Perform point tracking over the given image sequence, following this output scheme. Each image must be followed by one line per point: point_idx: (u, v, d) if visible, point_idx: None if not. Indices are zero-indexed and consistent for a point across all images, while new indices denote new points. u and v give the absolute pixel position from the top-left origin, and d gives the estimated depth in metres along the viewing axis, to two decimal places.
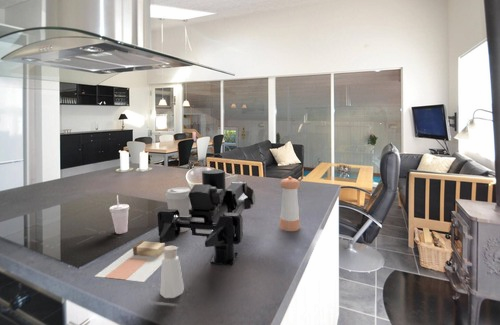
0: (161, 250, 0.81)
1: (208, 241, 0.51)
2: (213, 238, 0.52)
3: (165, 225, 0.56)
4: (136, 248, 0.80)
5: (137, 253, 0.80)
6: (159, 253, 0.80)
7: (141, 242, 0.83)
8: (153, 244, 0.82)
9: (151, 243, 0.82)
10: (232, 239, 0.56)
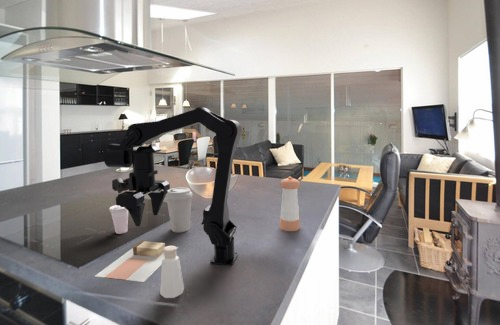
0: (161, 250, 0.81)
1: (136, 224, 0.75)
2: (134, 220, 0.75)
3: None
4: (136, 248, 0.80)
5: (137, 253, 0.80)
6: (159, 253, 0.80)
7: (141, 242, 0.83)
8: (153, 244, 0.82)
9: (151, 243, 0.82)
10: (134, 207, 0.71)
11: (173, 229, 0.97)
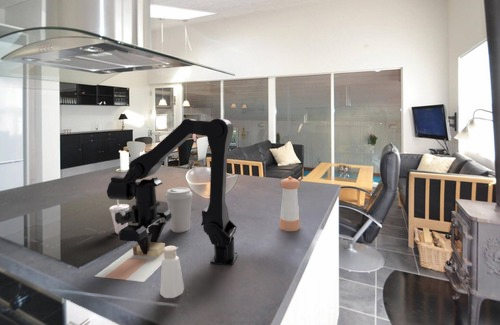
0: (161, 250, 0.81)
1: (143, 253, 0.79)
2: (142, 248, 0.79)
3: None
4: (136, 248, 0.80)
5: (137, 253, 0.80)
6: (159, 253, 0.80)
7: None
8: (153, 244, 0.82)
9: (151, 243, 0.82)
10: (142, 238, 0.75)
11: (173, 229, 0.97)
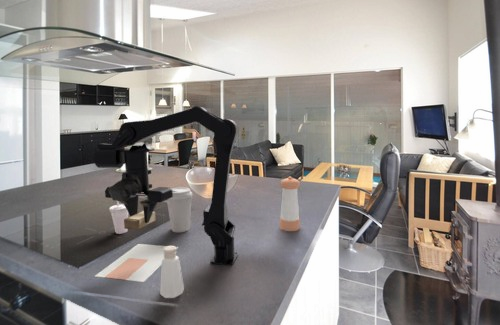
0: None
1: (147, 221, 0.77)
2: (148, 216, 0.76)
3: (126, 208, 0.77)
4: (139, 220, 0.74)
5: (139, 226, 0.75)
6: None
7: (128, 218, 0.75)
8: (141, 214, 0.79)
9: (137, 215, 0.78)
10: None
11: (173, 229, 0.97)
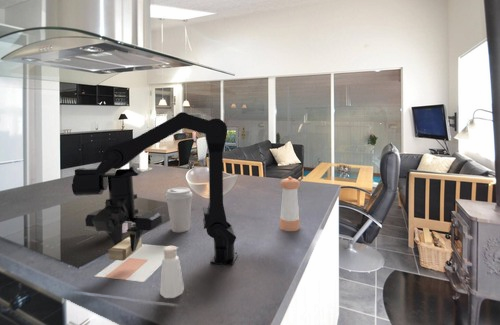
0: None
1: (133, 249, 0.72)
2: (135, 244, 0.71)
3: (110, 236, 0.71)
4: (125, 250, 0.69)
5: (126, 256, 0.70)
6: None
7: (113, 248, 0.69)
8: (127, 241, 0.74)
9: (122, 243, 0.73)
10: None
11: (173, 229, 0.97)
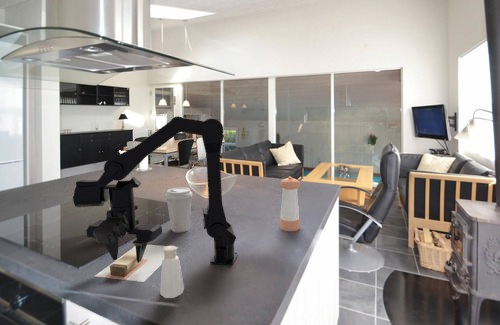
0: None
1: (139, 260, 0.72)
2: (140, 255, 0.72)
3: (106, 246, 0.72)
4: (127, 266, 0.70)
5: (127, 272, 0.70)
6: None
7: (115, 264, 0.70)
8: (128, 256, 0.74)
9: (124, 258, 0.73)
10: None
11: (173, 229, 0.97)
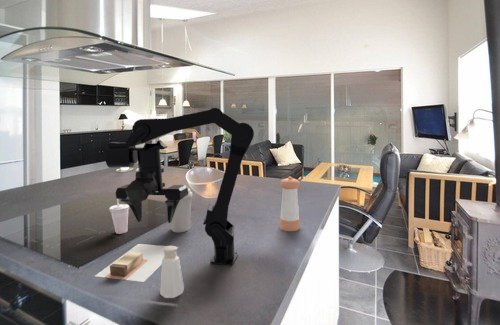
0: None
1: (170, 221, 0.74)
2: (171, 216, 0.74)
3: (131, 208, 0.75)
4: (127, 266, 0.70)
5: (127, 272, 0.70)
6: None
7: (115, 264, 0.70)
8: (128, 256, 0.74)
9: (124, 258, 0.73)
10: (182, 198, 0.75)
11: (173, 229, 0.97)
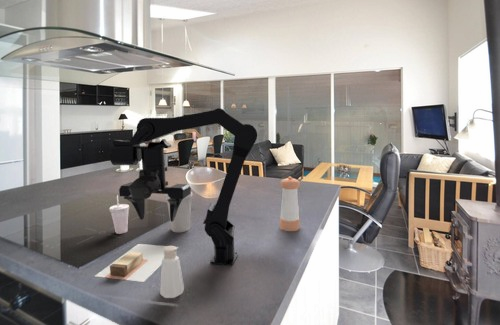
0: None
1: (172, 219, 0.75)
2: (174, 214, 0.75)
3: (134, 206, 0.76)
4: (127, 266, 0.70)
5: (127, 272, 0.70)
6: None
7: (115, 264, 0.70)
8: (128, 256, 0.74)
9: (124, 258, 0.73)
10: None
11: (173, 229, 0.97)
